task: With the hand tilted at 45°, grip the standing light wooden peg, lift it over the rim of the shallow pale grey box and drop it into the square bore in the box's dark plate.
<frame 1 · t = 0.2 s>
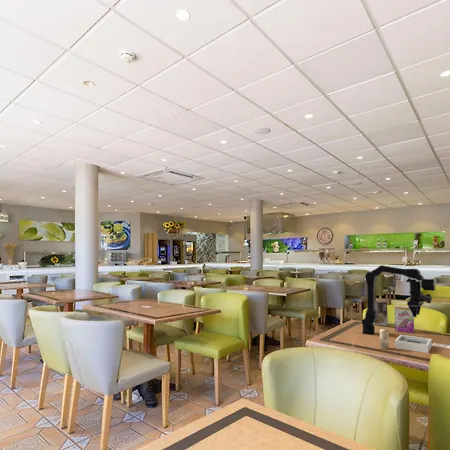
hand: (416, 316, 209), 15 cm above the table, tool pointing down, fingers open, 9 cm apart
bore box: (413, 346, 195), on the table
peg: (384, 348, 193), on the table
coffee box: (380, 324, 251), on the table
candy bar box: (404, 331, 230), on the table
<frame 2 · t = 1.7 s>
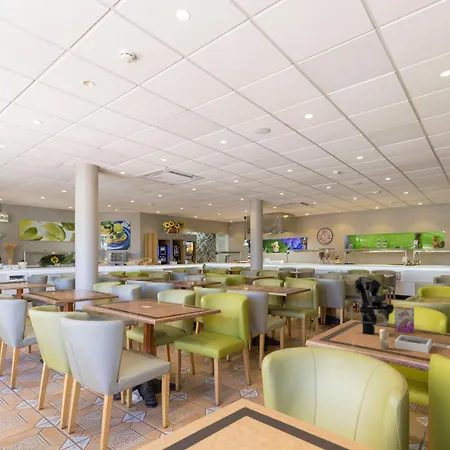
hand: (379, 320, 201), 13 cm above the table, tool tilted 45°, fingers open, 9 cm apart
nothing on the table moved.
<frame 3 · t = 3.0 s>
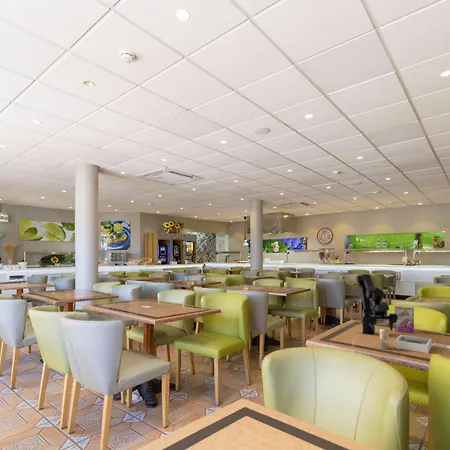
hand: (383, 330, 195), 9 cm above the table, tool tilted 45°, fingers open, 9 cm apart
nothing on the table moved.
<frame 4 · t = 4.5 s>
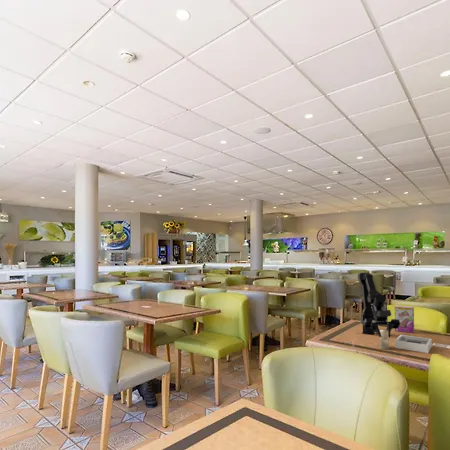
hand: (385, 336, 192), 7 cm above the table, tool tilted 45°, fingers closed on peg, 4 cm apart
peg: (384, 348, 193), on the table, touching gripper
everything else where it was.
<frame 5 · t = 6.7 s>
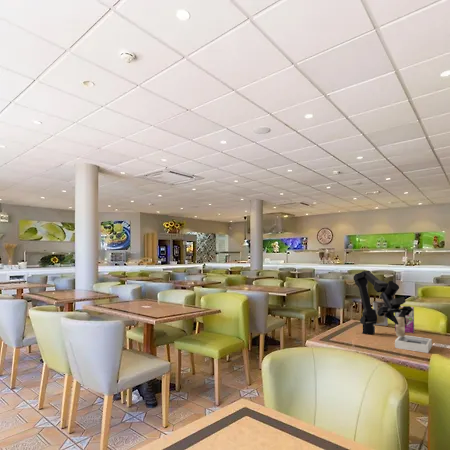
hand: (401, 324, 192), 14 cm above the table, tool tilted 45°, fingers closed on peg, 4 cm apart
peg: (400, 335, 193), point 7 cm above the table, touching gripper
everything else where it was.
when the fingers open (8 cm above the table, at t = 9.0 s): peg drops 2 cm, resting in bore box.
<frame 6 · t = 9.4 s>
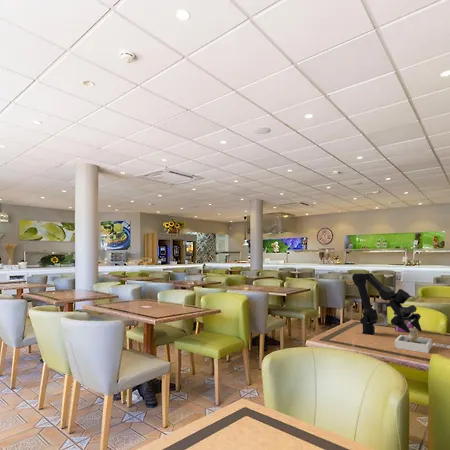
hand: (415, 332, 195), 9 cm above the table, tool tilted 45°, fingers open, 9 cm apart
peg: (413, 346, 195), resting in bore box
everything else where it was.
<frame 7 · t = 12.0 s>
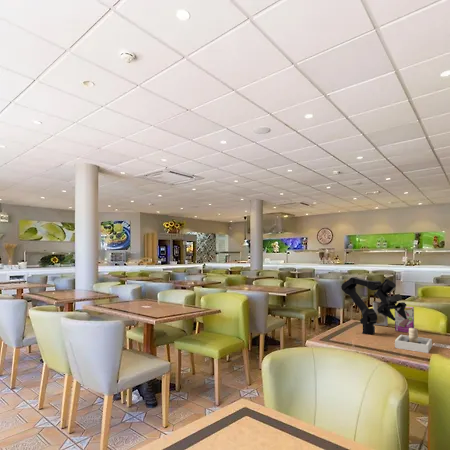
hand: (400, 319, 203), 14 cm above the table, tool tilted 45°, fingers open, 9 cm apart
nothing on the table moved.
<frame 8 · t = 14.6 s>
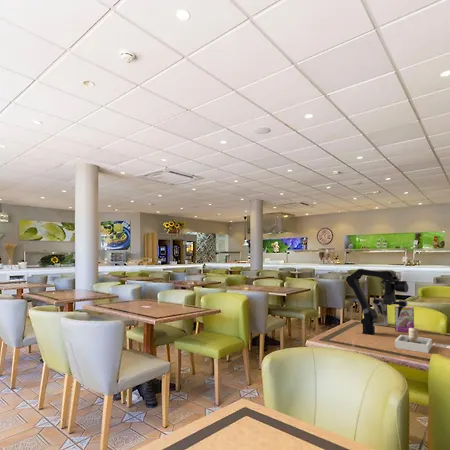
hand: (390, 316, 216), 13 cm above the table, tool pointing down, fingers open, 9 cm apart
nothing on the table moved.
at the end: peg 0.1 cm off-centre on the bore box, point 0.0 cm above the bore box's base; peg tilted 0°; the gripper is holding nothing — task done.
